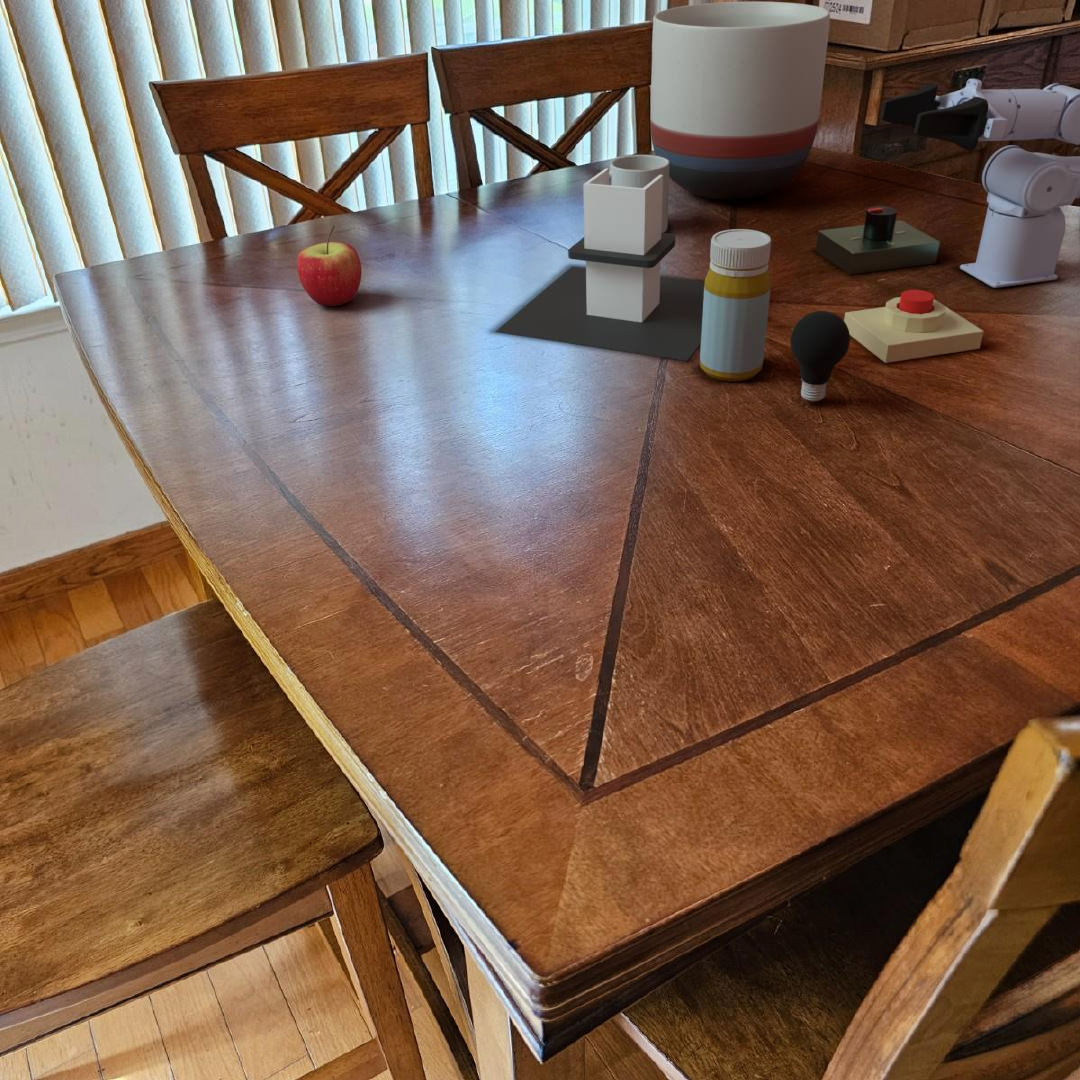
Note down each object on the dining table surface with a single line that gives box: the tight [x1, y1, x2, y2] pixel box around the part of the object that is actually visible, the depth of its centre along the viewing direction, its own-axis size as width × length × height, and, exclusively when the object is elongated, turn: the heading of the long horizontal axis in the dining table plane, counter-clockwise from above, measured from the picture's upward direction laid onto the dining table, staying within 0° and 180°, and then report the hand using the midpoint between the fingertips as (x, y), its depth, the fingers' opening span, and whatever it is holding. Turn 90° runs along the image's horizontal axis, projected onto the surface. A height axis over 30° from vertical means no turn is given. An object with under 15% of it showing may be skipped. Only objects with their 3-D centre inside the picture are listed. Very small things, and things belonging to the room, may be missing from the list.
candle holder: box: [495, 168, 705, 362], centre depth 123 cm, size 25×24×16 cm
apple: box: [296, 225, 362, 307], centre depth 130 cm, size 8×8×10 cm
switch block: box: [843, 296, 984, 364], centre depth 115 cm, size 12×10×4 cm
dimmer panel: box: [815, 219, 941, 276], centre depth 138 cm, size 13×10×3 cm
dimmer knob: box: [863, 205, 898, 240], centre depth 136 cm, size 4×4×4 cm
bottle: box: [699, 228, 772, 382], centre depth 107 cm, size 7×7×15 cm
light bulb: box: [789, 310, 851, 404], centre depth 102 cm, size 6×6×10 cm
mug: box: [609, 154, 670, 233], centre depth 150 cm, size 11×10×10 cm
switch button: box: [899, 289, 935, 314], centre depth 114 cm, size 4×4×2 cm
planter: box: [649, 1, 831, 201], centre depth 159 cm, size 27×27×27 cm
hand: (899, 117), depth 116 cm, fingers open, 7 cm apart
